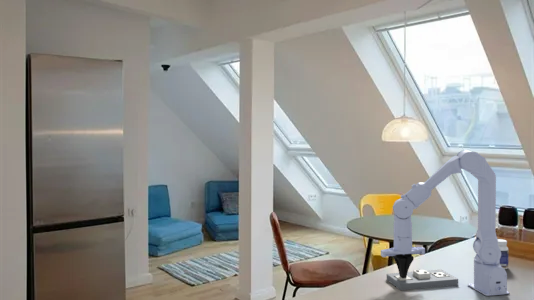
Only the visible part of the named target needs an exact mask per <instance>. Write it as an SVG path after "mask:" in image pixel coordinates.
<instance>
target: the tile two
mask: <svg viewBox="0 0 534 300" xmlns="http://www.w3.org/2000/svg"><path fill="white" fill-rule="evenodd" d="M427 271H428V270H426V269H415V270H414V269H413V270H412V272H413V276H414V277H416V278H417V279H428V278H430V273H429V272H427Z"/></svg>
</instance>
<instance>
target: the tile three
mask: <svg viewBox="0 0 534 300" xmlns="http://www.w3.org/2000/svg"><path fill="white" fill-rule="evenodd" d="M431 274H432V275H433V276H435V277H437V278H440V277H449V276H448V275H446V274H444V273H443V272H437V273H431Z"/></svg>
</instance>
